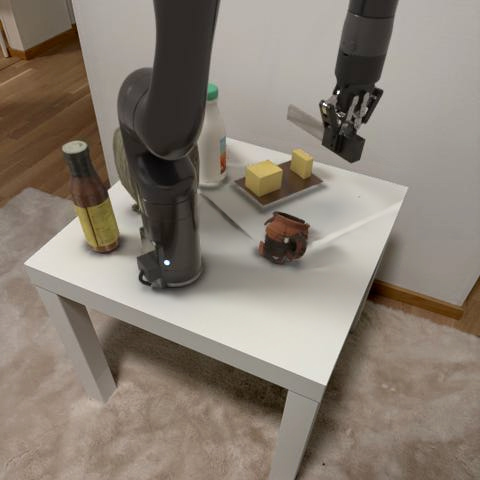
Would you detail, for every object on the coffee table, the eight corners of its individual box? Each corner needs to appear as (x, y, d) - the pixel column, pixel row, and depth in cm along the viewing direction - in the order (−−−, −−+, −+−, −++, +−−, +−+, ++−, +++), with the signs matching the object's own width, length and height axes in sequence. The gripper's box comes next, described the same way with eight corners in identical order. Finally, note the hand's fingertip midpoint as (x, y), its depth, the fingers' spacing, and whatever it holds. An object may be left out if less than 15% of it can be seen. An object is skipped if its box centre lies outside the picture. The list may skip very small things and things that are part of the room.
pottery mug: (246, 246, 87) (260, 205, 83) (283, 253, 92) (298, 215, 89) (278, 271, 78) (295, 226, 75) (317, 277, 83) (335, 236, 80)
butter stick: (258, 197, 94) (260, 178, 91) (245, 185, 97) (245, 167, 93) (280, 188, 96) (282, 169, 93) (266, 177, 99) (268, 159, 95)
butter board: (262, 211, 93) (263, 205, 92) (233, 186, 99) (233, 180, 98) (322, 187, 100) (324, 181, 99) (292, 165, 105) (292, 159, 104)
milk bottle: (213, 192, 97) (211, 99, 82) (185, 181, 100) (178, 89, 84) (232, 176, 101) (233, 85, 86) (204, 166, 104) (201, 75, 89)
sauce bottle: (125, 234, 87) (104, 137, 72) (116, 255, 83) (91, 157, 68) (92, 231, 87) (64, 135, 72) (82, 252, 83) (50, 154, 68)
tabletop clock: (185, 189, 98) (176, 67, 78) (206, 211, 93) (201, 86, 74) (124, 209, 92) (98, 83, 73) (142, 233, 87) (119, 105, 68)
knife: (350, 163, 80) (356, 142, 77) (283, 120, 90) (285, 100, 87) (360, 160, 81) (365, 139, 78) (292, 117, 91) (294, 97, 88)
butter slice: (304, 179, 99) (306, 160, 95) (289, 169, 101) (292, 150, 98) (310, 176, 100) (313, 158, 96) (296, 166, 102) (299, 148, 99)
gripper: (376, 31, 74) (352, 132, 87) (314, 45, 68) (299, 150, 81) (411, 45, 70) (381, 148, 83) (349, 61, 64) (326, 169, 77)
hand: (340, 149), depth 82 cm, fingers closed on knife, 2 cm apart
